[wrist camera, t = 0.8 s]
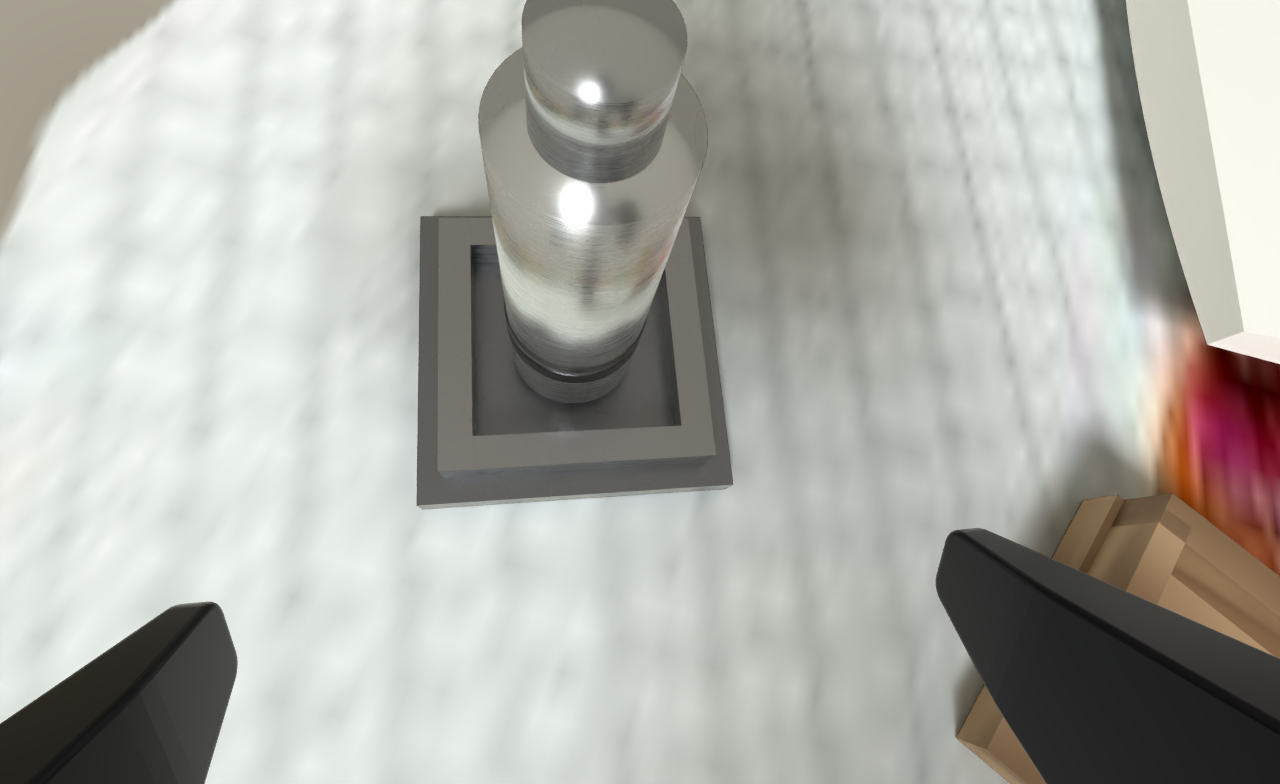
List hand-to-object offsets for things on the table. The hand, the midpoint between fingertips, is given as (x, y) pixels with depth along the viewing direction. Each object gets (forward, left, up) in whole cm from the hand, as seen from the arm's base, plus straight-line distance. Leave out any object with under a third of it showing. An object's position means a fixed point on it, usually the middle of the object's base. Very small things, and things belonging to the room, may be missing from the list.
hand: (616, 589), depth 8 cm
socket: (+7, +4, -13) cm, 15 cm away
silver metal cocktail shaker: (+7, +4, -12) cm, 14 cm away
